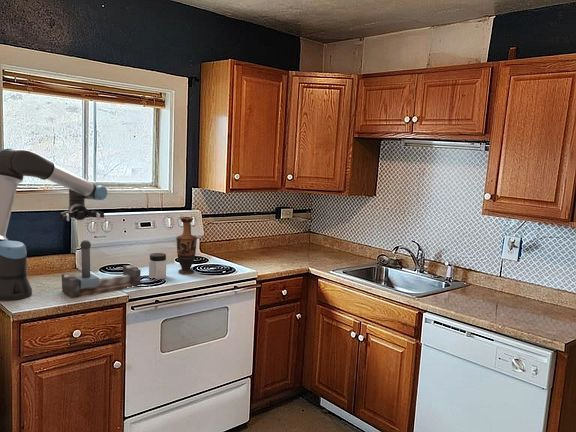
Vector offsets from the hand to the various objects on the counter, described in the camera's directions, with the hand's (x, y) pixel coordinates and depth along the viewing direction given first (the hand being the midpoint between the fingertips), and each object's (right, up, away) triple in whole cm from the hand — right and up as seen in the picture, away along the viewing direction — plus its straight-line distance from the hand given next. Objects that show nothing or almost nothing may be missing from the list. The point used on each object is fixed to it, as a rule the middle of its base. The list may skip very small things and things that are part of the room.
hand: (83, 217), depth 230 cm
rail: (+10, -33, -3) cm, 35 cm away
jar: (+29, -31, +21) cm, 47 cm away
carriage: (+5, -31, -9) cm, 32 cm away
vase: (+42, -30, +32) cm, 61 cm away
